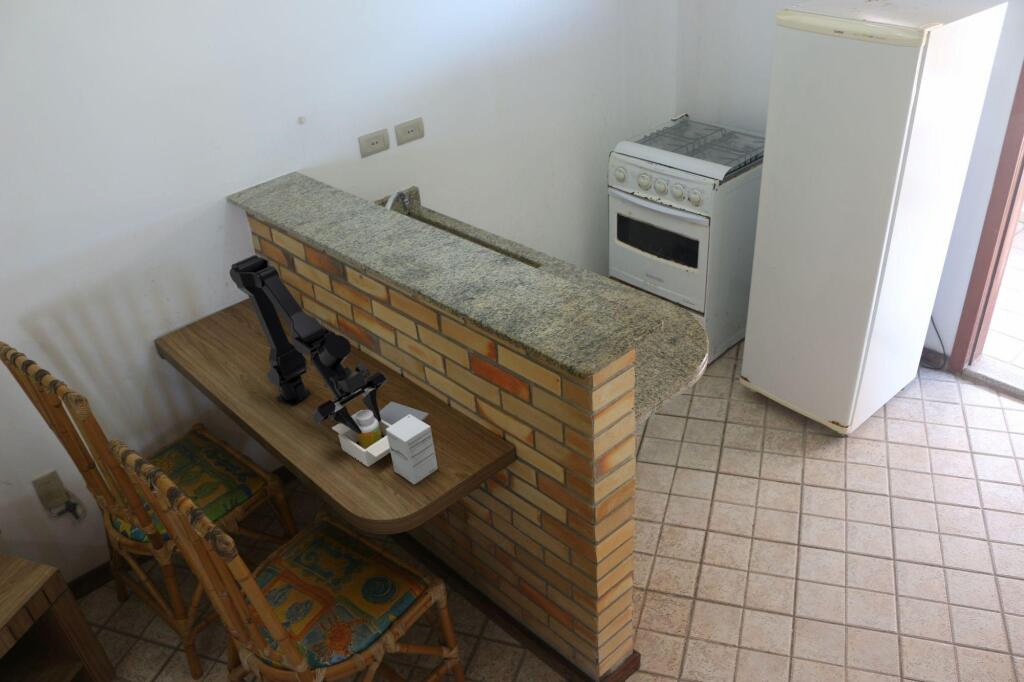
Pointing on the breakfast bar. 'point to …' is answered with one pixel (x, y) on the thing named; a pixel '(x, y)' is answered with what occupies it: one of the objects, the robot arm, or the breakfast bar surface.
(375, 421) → the supplement bottle
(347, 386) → the robot arm
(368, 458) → the carton
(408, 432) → the supplement box
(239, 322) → the breakfast bar surface
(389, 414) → the mat
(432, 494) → the breakfast bar surface
